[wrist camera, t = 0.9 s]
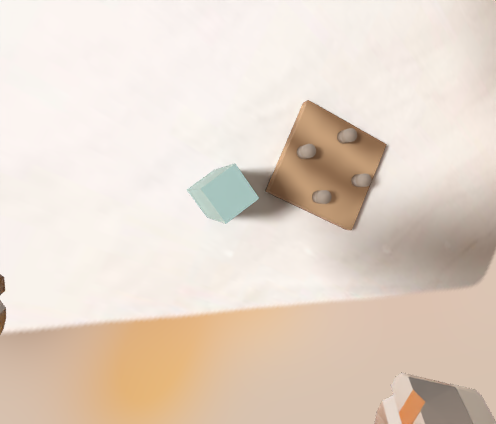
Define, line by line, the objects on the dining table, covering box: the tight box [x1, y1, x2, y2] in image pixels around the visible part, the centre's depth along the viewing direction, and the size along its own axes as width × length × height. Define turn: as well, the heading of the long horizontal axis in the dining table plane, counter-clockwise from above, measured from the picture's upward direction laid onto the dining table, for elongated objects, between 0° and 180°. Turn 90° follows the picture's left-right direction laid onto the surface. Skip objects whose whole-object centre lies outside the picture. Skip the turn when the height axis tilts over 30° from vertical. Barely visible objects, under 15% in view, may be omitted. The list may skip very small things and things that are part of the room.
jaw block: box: [187, 164, 259, 224], centre depth 42 cm, size 4×4×10 cm
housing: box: [265, 100, 387, 230], centre depth 48 cm, size 12×12×4 cm
